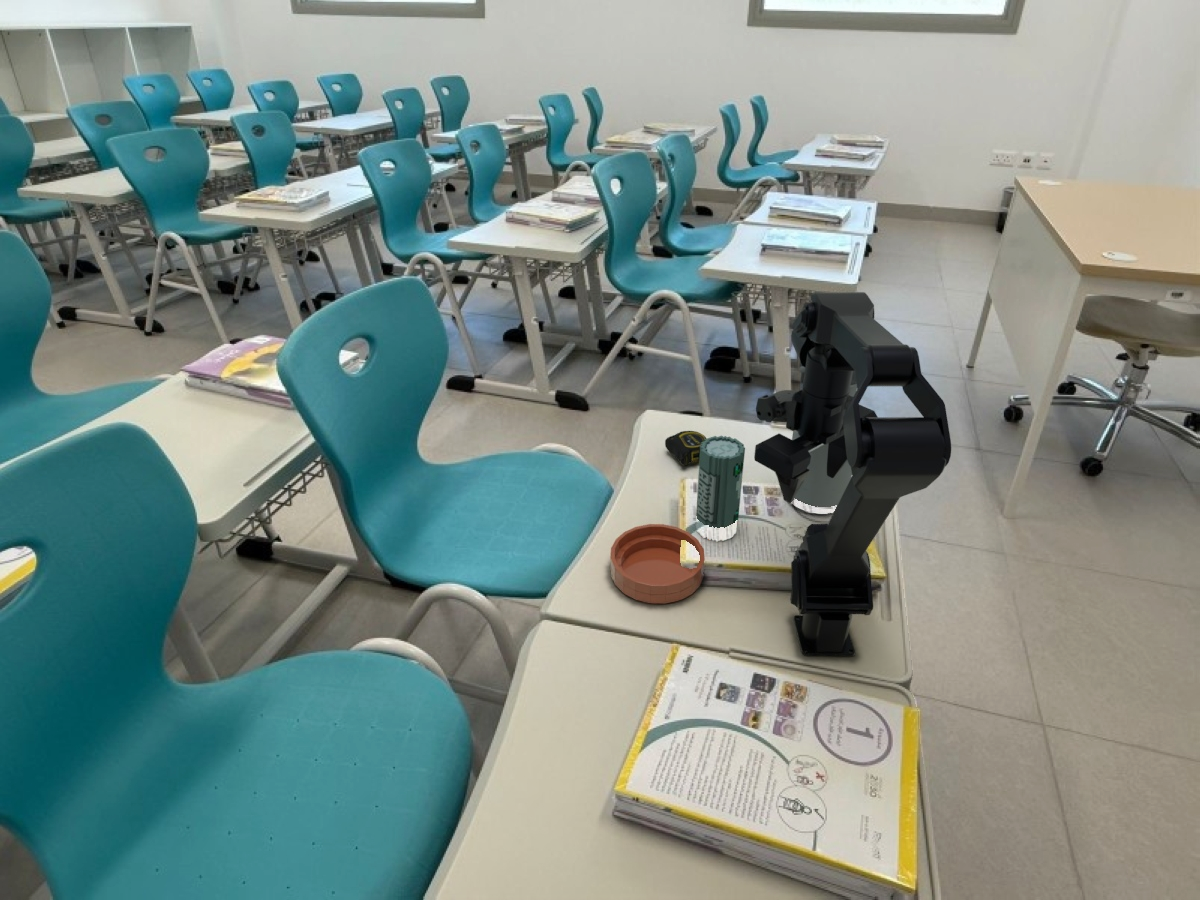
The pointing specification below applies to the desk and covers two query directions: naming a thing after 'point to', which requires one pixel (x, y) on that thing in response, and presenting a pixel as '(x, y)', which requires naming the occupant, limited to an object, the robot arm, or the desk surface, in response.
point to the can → (719, 481)
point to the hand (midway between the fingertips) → (809, 488)
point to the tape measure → (685, 446)
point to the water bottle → (823, 469)
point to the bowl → (654, 564)
